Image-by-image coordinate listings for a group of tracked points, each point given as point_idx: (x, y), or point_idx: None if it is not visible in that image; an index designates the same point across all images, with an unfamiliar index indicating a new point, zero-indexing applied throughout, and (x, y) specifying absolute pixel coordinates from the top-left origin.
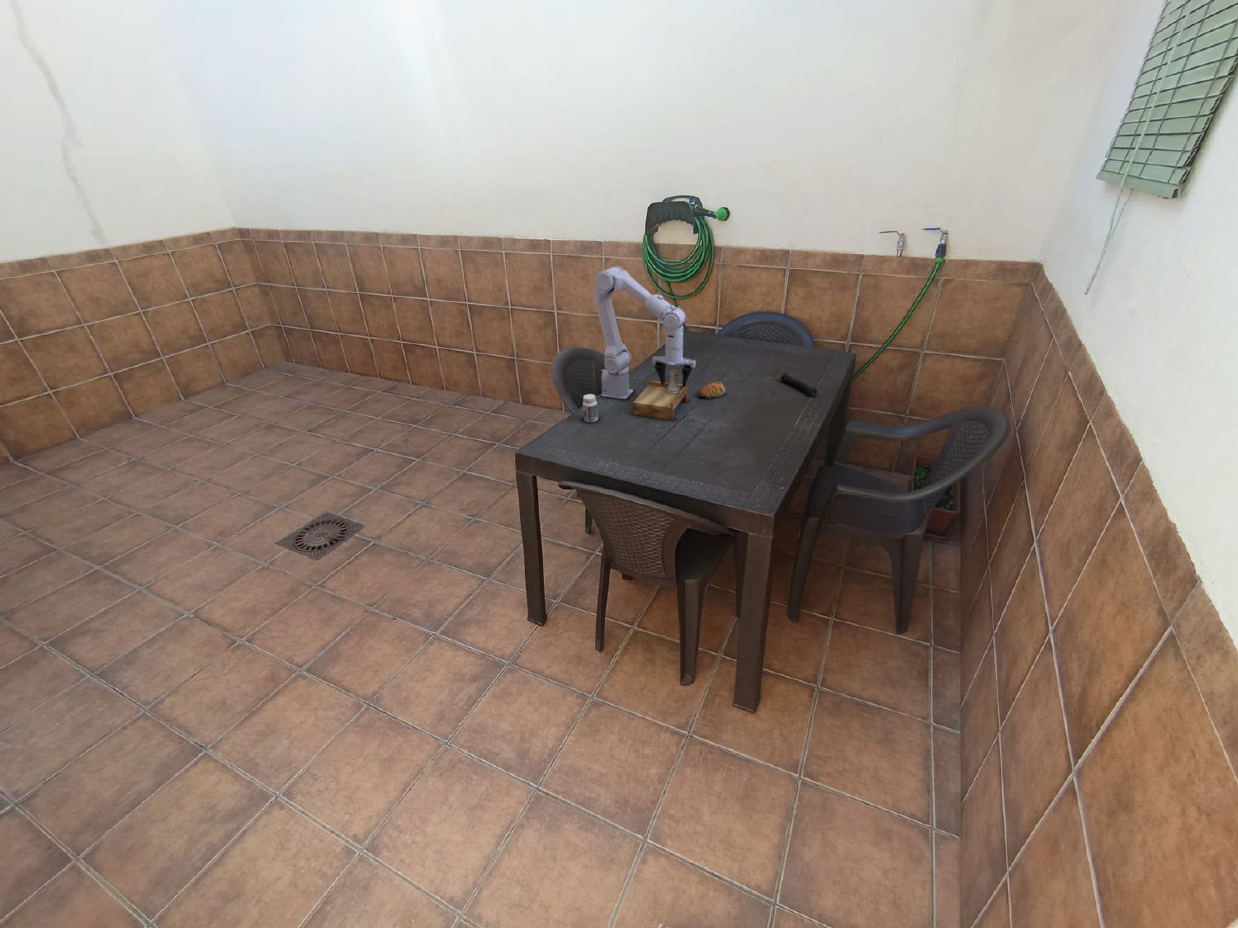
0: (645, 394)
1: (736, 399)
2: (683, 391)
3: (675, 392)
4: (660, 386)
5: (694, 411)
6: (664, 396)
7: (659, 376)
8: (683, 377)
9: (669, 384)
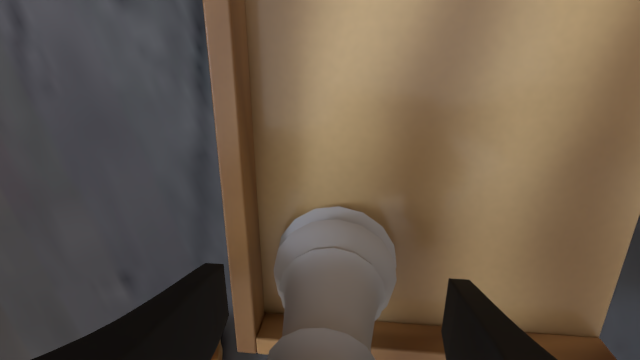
0: (607, 133)
1: (35, 337)
2: (230, 241)
3: (303, 222)
4: None
5: (169, 132)
6: (391, 141)
7: (535, 345)
8: (136, 332)
9: (373, 286)
